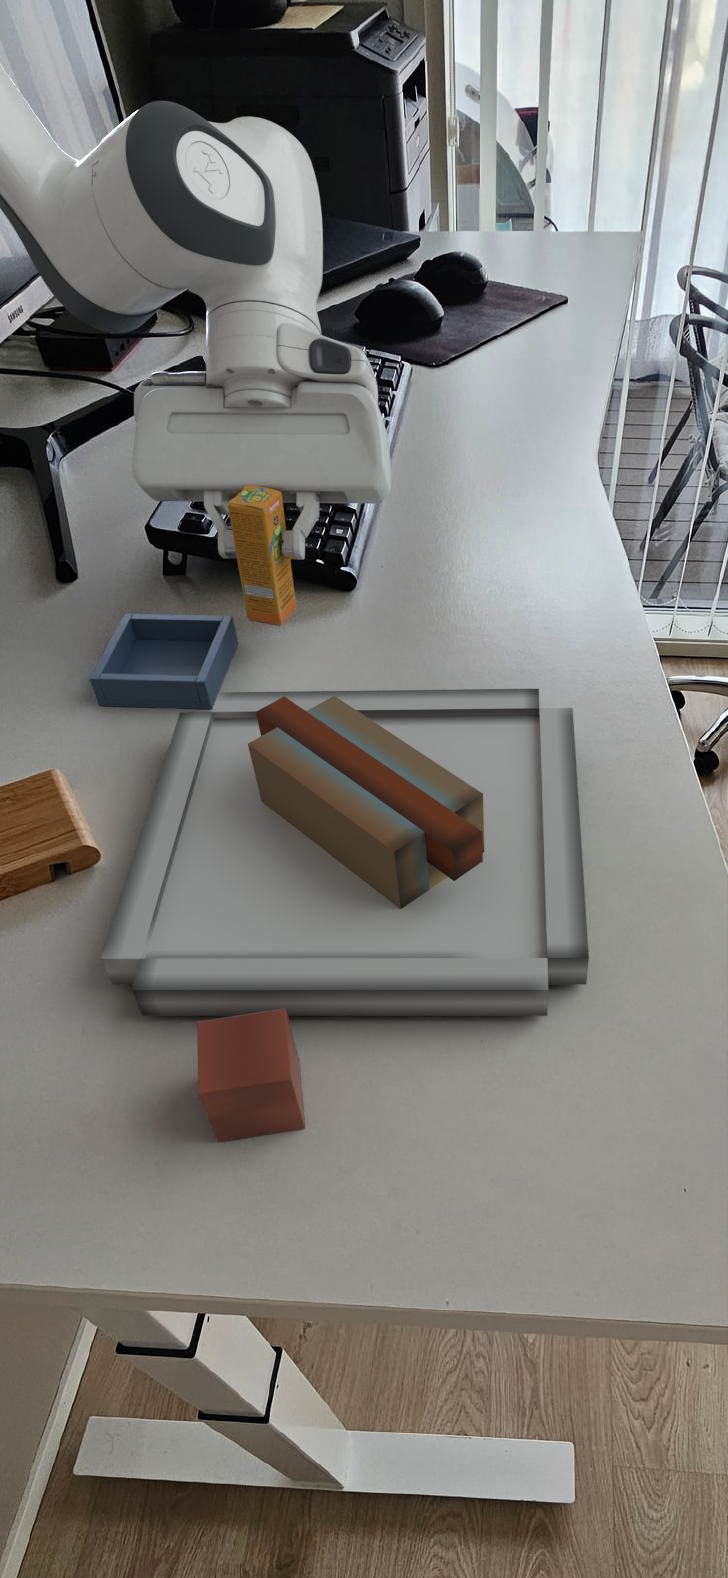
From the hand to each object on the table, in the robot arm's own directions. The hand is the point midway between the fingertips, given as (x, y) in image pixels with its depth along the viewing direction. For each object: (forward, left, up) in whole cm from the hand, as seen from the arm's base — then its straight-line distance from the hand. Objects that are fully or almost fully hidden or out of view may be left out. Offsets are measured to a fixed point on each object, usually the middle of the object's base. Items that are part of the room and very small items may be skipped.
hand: (262, 556), depth 83 cm
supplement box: (0, +1, -6) cm, 6 cm away
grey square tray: (+11, -24, -9) cm, 28 cm away
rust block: (+8, -45, -9) cm, 47 cm away
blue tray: (-9, -3, -9) cm, 13 cm away
